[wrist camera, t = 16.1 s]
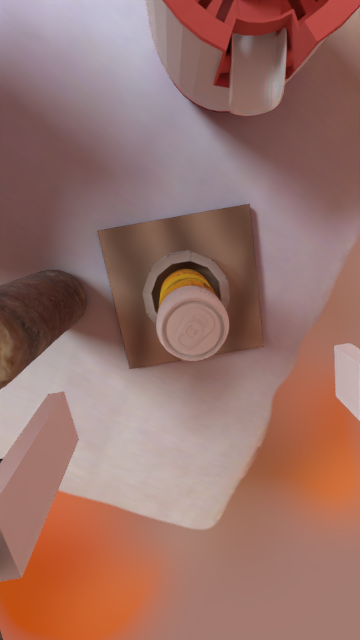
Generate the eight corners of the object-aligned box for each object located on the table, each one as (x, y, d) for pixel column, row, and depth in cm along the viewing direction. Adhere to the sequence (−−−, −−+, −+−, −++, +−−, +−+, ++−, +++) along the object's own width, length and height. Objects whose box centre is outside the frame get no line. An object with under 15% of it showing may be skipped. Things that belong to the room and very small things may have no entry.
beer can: (219, 286, 40) (247, 321, 26) (190, 324, 41) (201, 378, 27) (179, 257, 39) (185, 277, 24) (151, 298, 40) (141, 339, 26)
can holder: (130, 365, 44) (127, 377, 40) (99, 230, 39) (92, 231, 35) (261, 343, 44) (269, 353, 40) (247, 204, 38) (254, 202, 35)
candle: (18, 278, 40) (-121, 328, 21) (71, 257, 40) (-20, 289, 20) (46, 332, 42) (-56, 423, 23) (97, 313, 42) (37, 389, 23)
